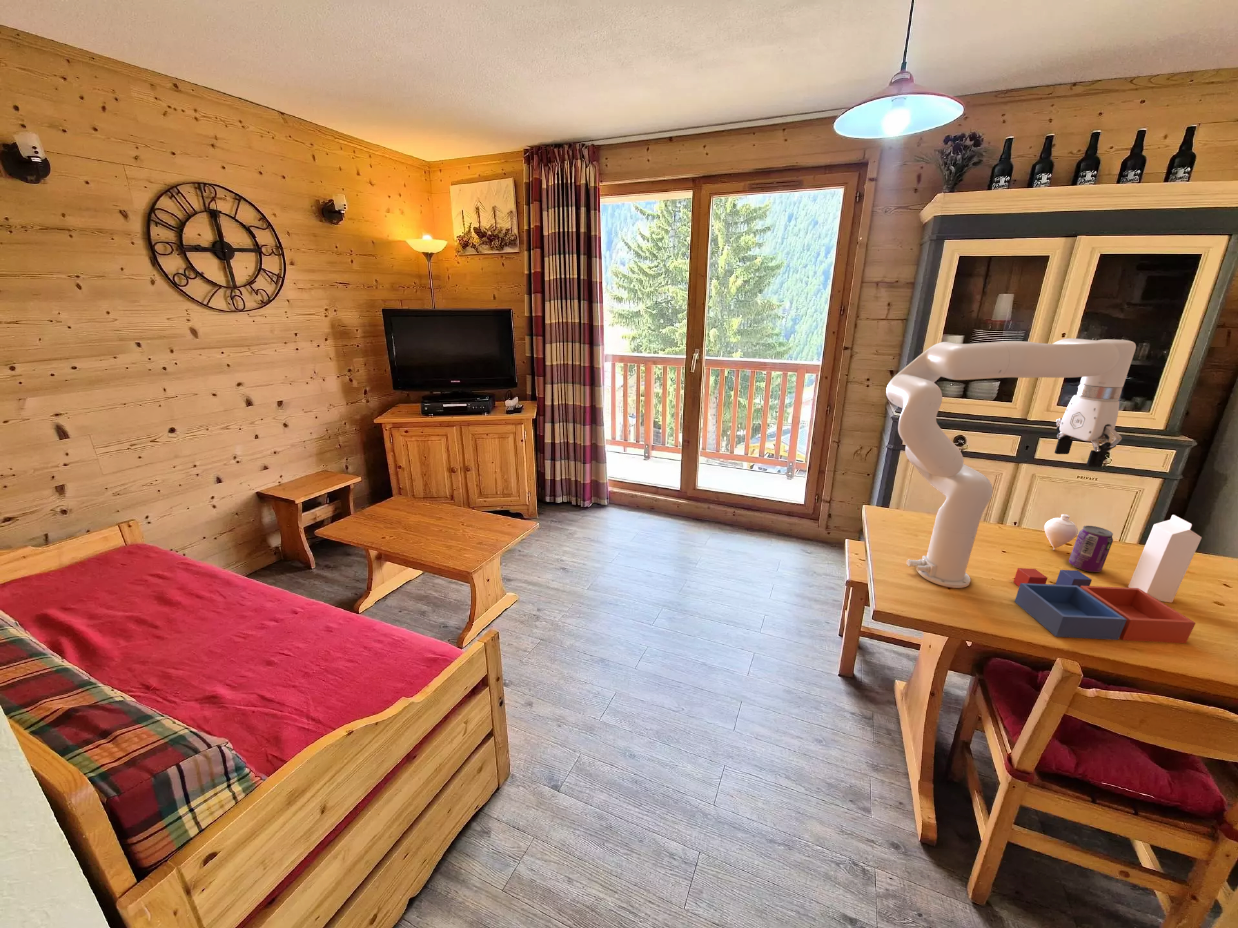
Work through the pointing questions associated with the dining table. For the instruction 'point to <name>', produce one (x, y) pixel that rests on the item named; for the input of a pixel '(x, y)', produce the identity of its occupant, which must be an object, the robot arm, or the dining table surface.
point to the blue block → (1072, 578)
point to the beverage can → (1091, 548)
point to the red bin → (1143, 615)
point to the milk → (1165, 559)
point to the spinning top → (1060, 530)
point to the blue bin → (1069, 611)
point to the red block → (1029, 576)
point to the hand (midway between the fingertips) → (1077, 459)
